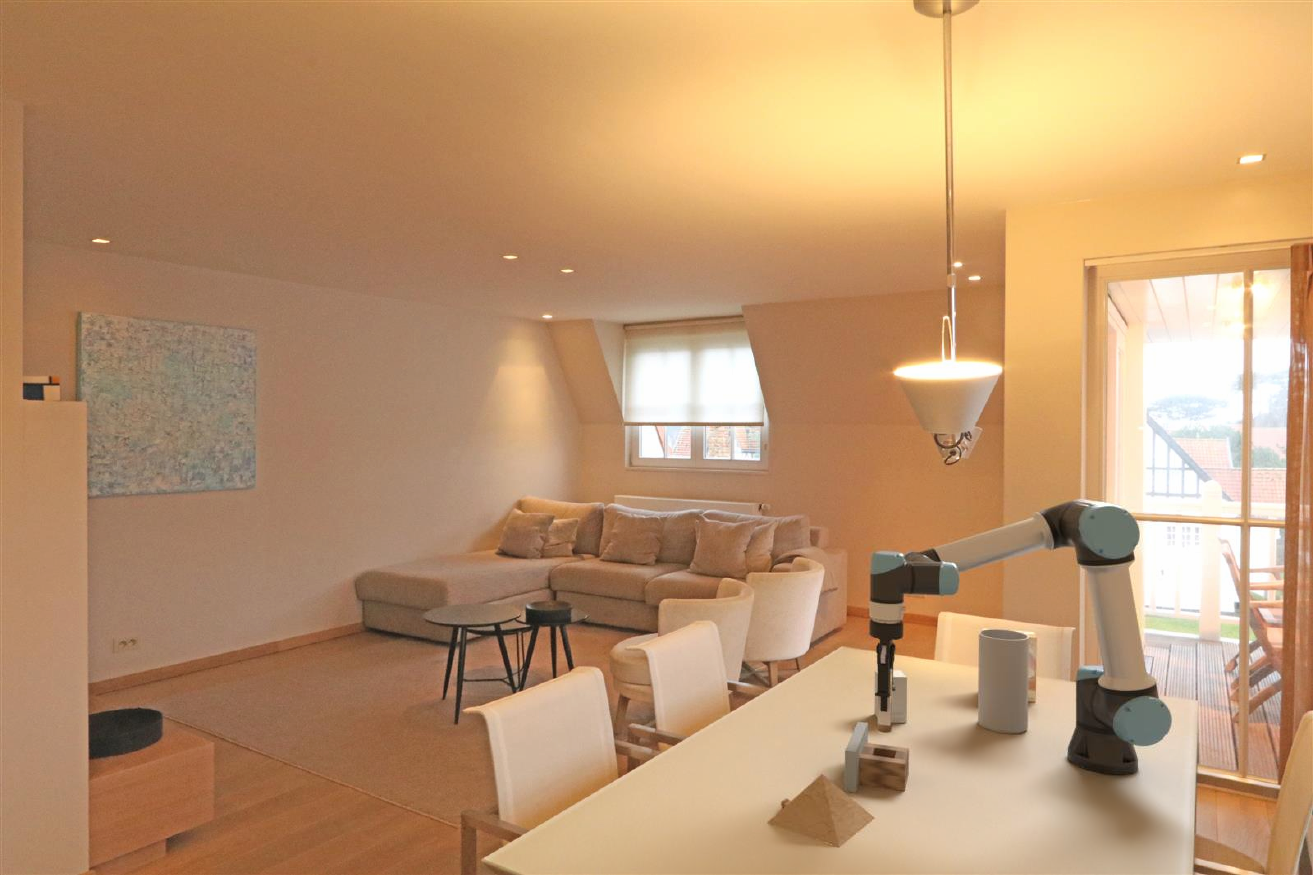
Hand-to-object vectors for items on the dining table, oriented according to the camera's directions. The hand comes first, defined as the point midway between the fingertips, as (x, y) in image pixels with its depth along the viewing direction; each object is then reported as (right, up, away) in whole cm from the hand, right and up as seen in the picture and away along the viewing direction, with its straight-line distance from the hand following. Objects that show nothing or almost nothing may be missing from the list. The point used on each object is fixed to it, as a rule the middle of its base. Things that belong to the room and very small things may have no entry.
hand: (884, 721), depth 195 cm
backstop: (-6, -13, +2) cm, 15 cm away
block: (0, -13, 0) cm, 13 cm away
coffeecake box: (+54, -13, +62) cm, 83 cm away
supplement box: (+13, -13, +41) cm, 45 cm away
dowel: (0, -2, 0) cm, 2 cm away
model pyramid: (-19, -14, -20) cm, 31 cm away
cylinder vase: (+41, -13, +36) cm, 56 cm away
